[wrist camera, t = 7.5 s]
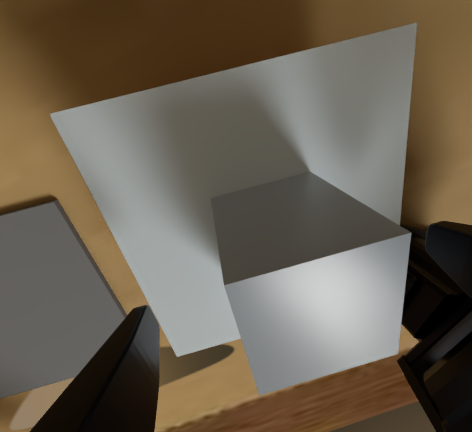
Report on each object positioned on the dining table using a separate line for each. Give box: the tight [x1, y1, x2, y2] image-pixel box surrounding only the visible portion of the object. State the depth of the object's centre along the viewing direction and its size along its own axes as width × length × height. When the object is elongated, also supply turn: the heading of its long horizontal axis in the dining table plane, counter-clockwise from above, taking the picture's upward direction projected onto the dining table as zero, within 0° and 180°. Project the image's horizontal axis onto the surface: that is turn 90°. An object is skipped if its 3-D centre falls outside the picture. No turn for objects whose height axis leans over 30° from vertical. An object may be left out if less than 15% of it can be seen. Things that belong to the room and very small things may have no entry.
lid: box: [50, 23, 417, 395], centre depth 8 cm, size 12×12×6 cm
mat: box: [0, 200, 127, 399], centre depth 17 cm, size 14×14×1 cm
